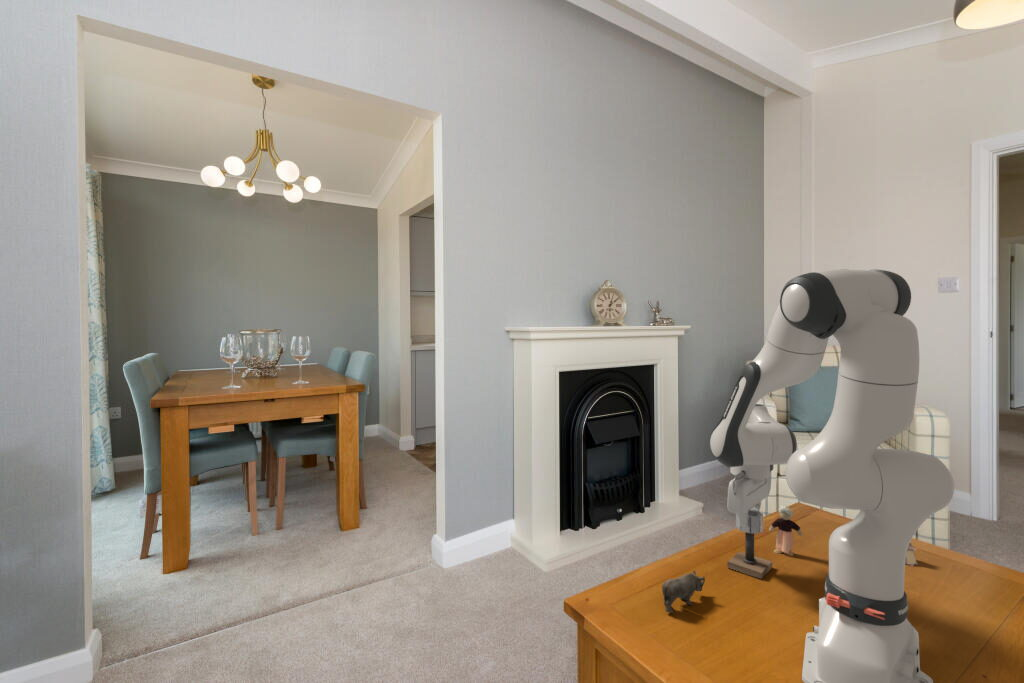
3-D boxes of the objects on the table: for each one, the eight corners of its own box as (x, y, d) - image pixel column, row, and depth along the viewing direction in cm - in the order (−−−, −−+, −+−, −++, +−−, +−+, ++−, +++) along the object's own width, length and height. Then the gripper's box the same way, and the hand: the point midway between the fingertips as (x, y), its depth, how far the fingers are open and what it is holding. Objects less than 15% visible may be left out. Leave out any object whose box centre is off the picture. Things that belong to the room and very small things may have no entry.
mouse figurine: (888, 551, 130) (888, 526, 130) (922, 564, 123) (922, 538, 123) (875, 554, 128) (875, 529, 128) (909, 568, 121) (909, 541, 121)
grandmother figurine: (771, 554, 129) (771, 507, 128) (768, 548, 132) (768, 502, 132) (804, 558, 126) (804, 510, 126) (799, 551, 130) (799, 505, 130)
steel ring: (757, 535, 117) (757, 519, 117) (733, 528, 122) (733, 513, 121) (765, 528, 122) (765, 512, 121) (741, 522, 126) (741, 506, 126)
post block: (761, 579, 116) (761, 539, 116) (727, 567, 122) (727, 530, 121) (772, 567, 122) (772, 530, 121) (739, 557, 127) (739, 521, 127)
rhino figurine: (713, 597, 109) (713, 570, 108) (671, 615, 102) (671, 587, 102) (698, 588, 112) (698, 563, 112) (656, 606, 105) (656, 579, 105)
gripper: (747, 479, 112) (747, 538, 112) (775, 461, 126) (775, 514, 126) (720, 473, 116) (720, 530, 116) (750, 457, 131) (750, 508, 131)
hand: (749, 521), depth 121 cm, fingers closed on steel ring, 6 cm apart
